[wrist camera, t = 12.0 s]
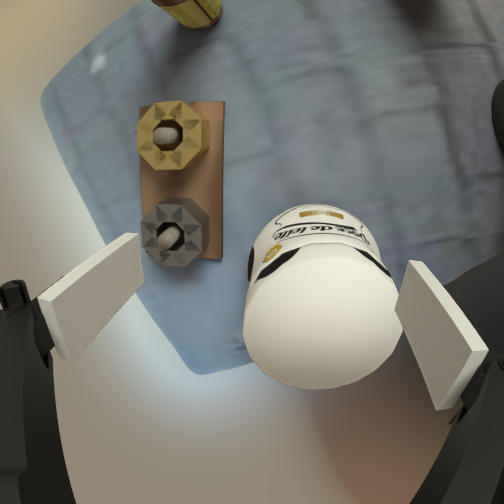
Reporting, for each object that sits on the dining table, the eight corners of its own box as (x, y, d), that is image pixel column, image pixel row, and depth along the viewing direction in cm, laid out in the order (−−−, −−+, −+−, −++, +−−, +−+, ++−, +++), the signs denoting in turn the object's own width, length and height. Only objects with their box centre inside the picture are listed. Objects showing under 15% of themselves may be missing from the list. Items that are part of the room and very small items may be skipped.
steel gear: (209, 198, 39) (200, 205, 35) (209, 257, 42) (202, 269, 39) (151, 197, 40) (139, 203, 36) (155, 252, 43) (144, 263, 39)
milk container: (330, 172, 37) (365, 203, 20) (389, 270, 41) (434, 346, 24) (228, 242, 42) (191, 312, 26) (295, 325, 46) (294, 413, 30)
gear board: (224, 101, 35) (211, 95, 28) (222, 256, 43) (211, 278, 37) (143, 107, 36) (117, 104, 29) (148, 250, 44) (128, 269, 38)
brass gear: (210, 102, 34) (202, 98, 30) (209, 165, 37) (201, 169, 33) (150, 106, 35) (137, 104, 31) (150, 166, 38) (137, 170, 34)
